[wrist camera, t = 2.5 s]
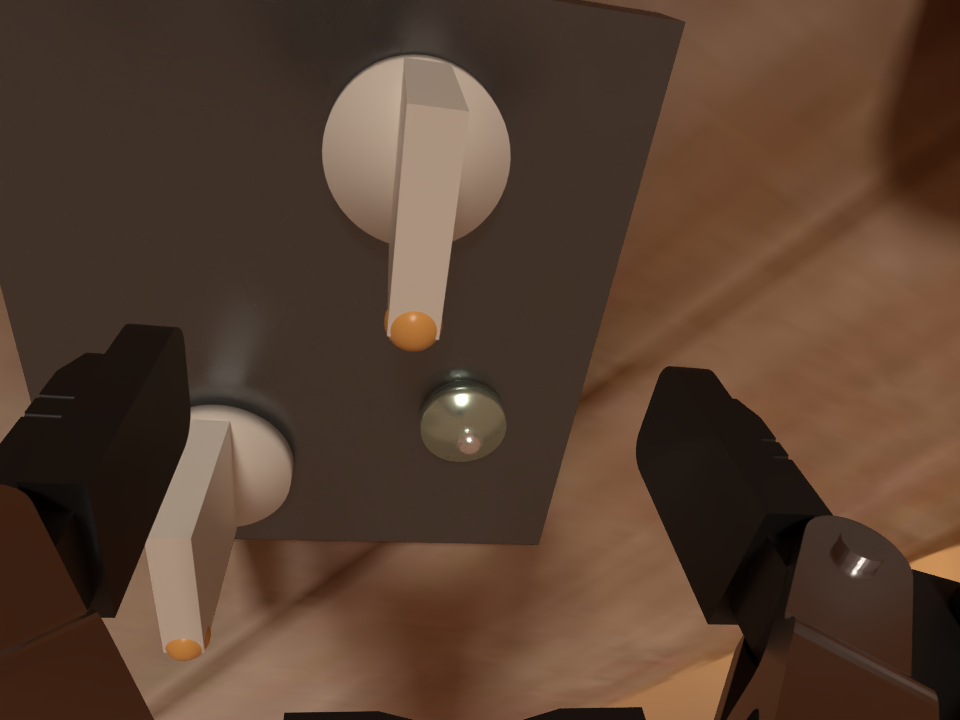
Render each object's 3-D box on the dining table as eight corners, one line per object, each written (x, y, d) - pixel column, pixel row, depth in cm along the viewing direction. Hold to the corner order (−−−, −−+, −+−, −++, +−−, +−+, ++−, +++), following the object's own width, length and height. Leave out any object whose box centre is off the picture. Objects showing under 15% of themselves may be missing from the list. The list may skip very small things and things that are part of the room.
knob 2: (327, 40, 20) (297, 91, 14) (520, 68, 21) (571, 127, 15) (322, 243, 24) (297, 355, 18) (488, 259, 25) (519, 369, 19)
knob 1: (137, 400, 26) (59, 543, 20) (293, 408, 27) (264, 547, 21) (155, 518, 30) (94, 671, 24) (293, 522, 31) (268, 669, 25)
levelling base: (-49, -104, 19) (-144, -109, 16) (659, 12, 23) (705, 28, 20) (87, 495, 32) (50, 563, 29) (530, 508, 36) (544, 570, 32)
